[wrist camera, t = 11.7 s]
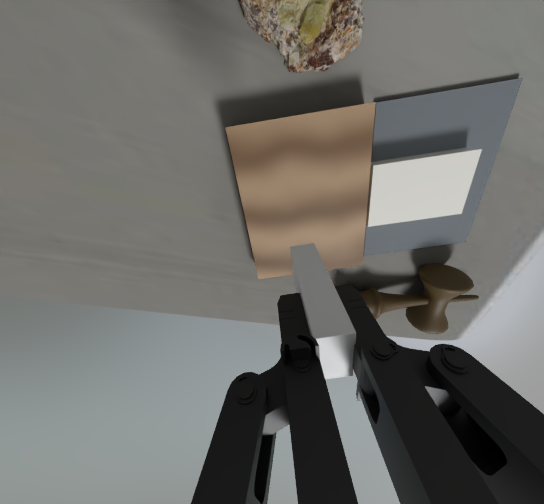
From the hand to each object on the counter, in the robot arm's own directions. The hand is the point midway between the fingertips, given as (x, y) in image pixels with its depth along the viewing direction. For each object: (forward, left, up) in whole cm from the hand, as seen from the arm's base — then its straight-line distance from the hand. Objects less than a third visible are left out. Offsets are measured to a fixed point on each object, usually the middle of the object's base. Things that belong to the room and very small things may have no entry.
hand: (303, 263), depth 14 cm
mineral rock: (-16, +3, -15) cm, 22 cm away
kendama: (+17, +17, -15) cm, 28 cm away
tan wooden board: (+1, +2, -15) cm, 15 cm away
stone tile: (+1, +15, -14) cm, 21 cm away
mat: (+1, +17, -15) cm, 22 cm away
